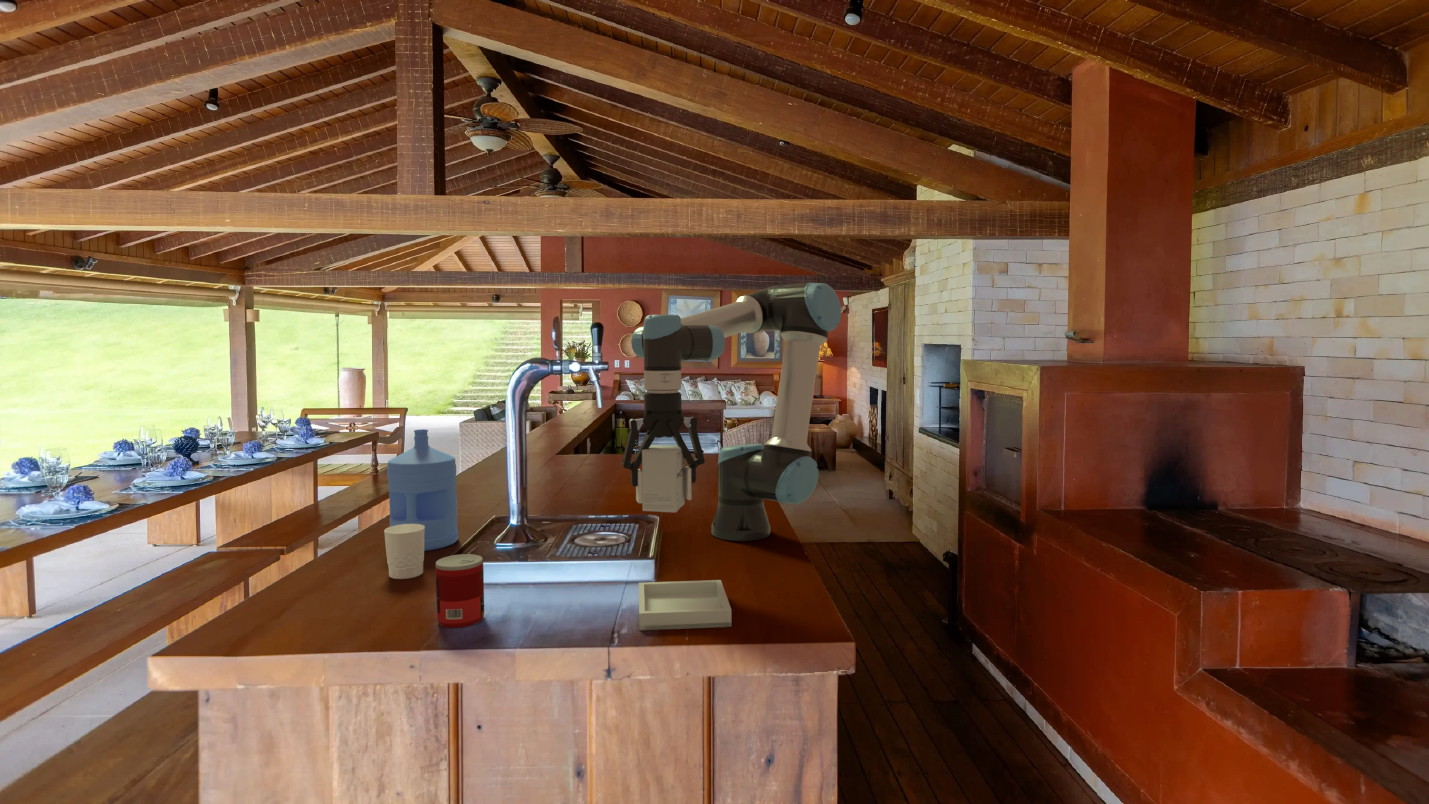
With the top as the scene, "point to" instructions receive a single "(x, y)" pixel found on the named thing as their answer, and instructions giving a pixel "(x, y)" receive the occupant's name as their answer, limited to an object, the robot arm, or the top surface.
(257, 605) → the top surface
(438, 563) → the canned food
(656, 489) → the supplement box
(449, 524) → the water jug
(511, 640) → the top surface
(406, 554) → the white cup
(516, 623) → the top surface
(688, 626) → the sage tray
